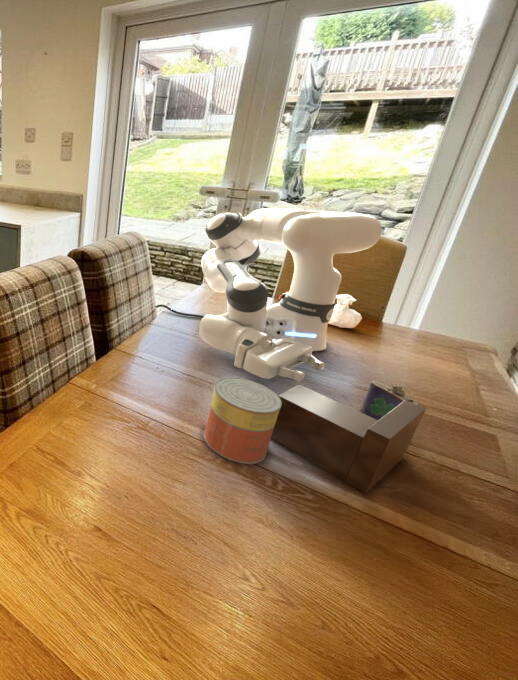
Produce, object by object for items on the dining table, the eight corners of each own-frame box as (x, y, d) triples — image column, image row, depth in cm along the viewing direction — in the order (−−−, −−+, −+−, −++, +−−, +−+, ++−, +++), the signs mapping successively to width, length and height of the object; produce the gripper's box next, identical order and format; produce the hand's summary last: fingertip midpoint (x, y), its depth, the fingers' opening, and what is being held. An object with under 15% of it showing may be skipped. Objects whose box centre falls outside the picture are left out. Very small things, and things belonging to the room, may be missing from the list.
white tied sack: (356, 335, 130) (371, 305, 130) (355, 327, 125) (371, 296, 125) (313, 323, 139) (327, 295, 139) (311, 315, 134) (325, 286, 134)
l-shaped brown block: (265, 435, 82) (280, 387, 78) (305, 411, 90) (320, 365, 85) (365, 493, 69) (390, 439, 64) (401, 459, 76) (426, 408, 72)
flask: (354, 414, 89) (371, 373, 85) (365, 413, 89) (383, 372, 85) (397, 443, 80) (417, 399, 76) (409, 441, 81) (430, 398, 77)
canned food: (258, 431, 83) (273, 383, 79) (272, 470, 74) (289, 418, 69) (201, 419, 87) (211, 373, 82) (206, 455, 77) (219, 404, 72)
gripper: (274, 348, 111) (330, 371, 100) (230, 367, 102) (287, 395, 91) (280, 328, 109) (338, 350, 98) (235, 346, 99) (294, 372, 88)
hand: (313, 372), depth 94 cm, fingers open, 8 cm apart
